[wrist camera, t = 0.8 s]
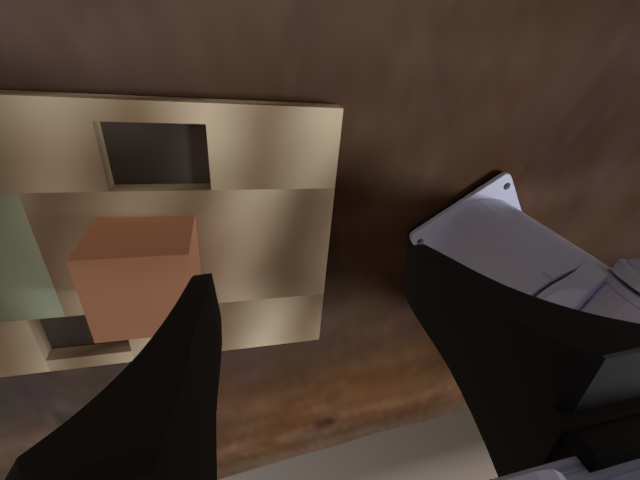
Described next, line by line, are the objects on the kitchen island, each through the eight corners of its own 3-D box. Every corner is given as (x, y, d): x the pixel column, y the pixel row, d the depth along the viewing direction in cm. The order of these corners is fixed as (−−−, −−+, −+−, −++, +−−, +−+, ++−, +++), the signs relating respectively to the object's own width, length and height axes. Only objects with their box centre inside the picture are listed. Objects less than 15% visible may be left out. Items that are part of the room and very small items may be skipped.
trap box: (337, 104, 19) (355, 116, 17) (315, 328, 28) (324, 360, 25) (-187, 81, 14) (-281, 94, 12) (-16, 365, 23) (-48, 409, 20)
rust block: (194, 215, 20) (188, 254, 16) (202, 286, 22) (199, 332, 19) (94, 218, 18) (65, 261, 15) (115, 292, 21) (94, 343, 18)
